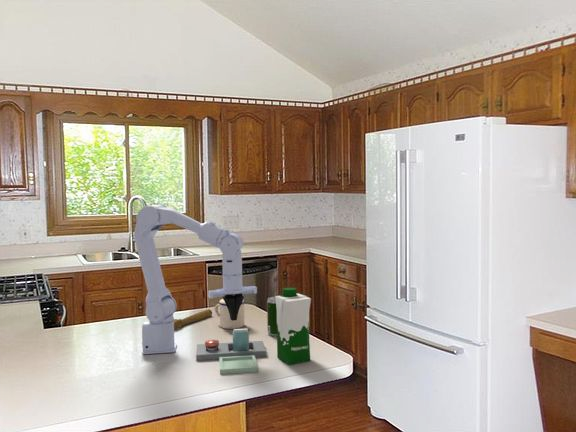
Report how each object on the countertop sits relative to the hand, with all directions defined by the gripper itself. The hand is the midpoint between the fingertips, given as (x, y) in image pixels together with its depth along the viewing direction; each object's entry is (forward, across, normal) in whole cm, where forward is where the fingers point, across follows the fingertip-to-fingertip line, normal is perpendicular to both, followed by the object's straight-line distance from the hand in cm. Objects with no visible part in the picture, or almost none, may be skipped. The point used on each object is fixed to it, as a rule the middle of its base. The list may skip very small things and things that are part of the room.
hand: (233, 319), depth 154 cm
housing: (+10, -1, 0) cm, 10 cm away
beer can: (+10, +19, +12) cm, 25 cm away
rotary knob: (+10, +2, 0) cm, 10 cm away
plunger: (+10, -6, +2) cm, 12 cm away
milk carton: (+10, +13, -13) cm, 21 cm away
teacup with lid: (+10, +8, +30) cm, 33 cm away
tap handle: (+10, -6, +38) cm, 40 cm away
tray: (+10, -3, -12) cm, 16 cm away
